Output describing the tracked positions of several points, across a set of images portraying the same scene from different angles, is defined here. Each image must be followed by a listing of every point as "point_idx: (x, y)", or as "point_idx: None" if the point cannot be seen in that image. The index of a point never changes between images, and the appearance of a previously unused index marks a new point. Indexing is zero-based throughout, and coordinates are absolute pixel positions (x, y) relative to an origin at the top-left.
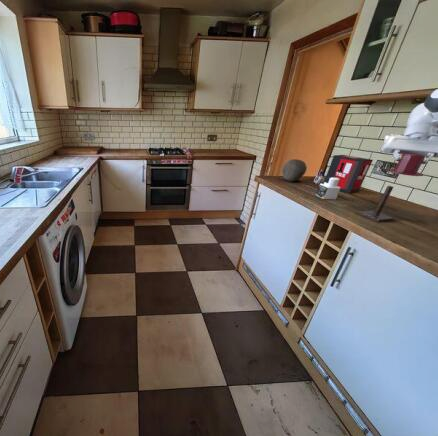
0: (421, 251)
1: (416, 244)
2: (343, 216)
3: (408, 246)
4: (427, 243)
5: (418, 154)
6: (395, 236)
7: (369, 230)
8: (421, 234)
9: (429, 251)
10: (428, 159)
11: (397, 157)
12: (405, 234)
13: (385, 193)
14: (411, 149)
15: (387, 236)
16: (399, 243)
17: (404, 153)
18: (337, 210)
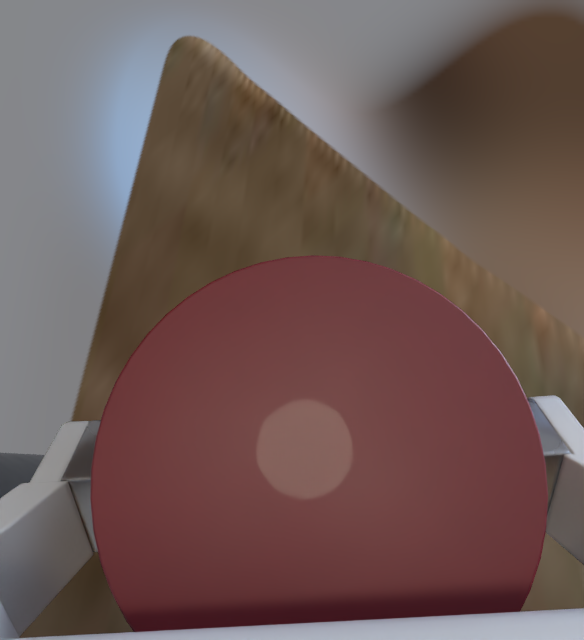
0: (191, 89)
1: (194, 149)
2: (487, 297)
3: (227, 104)
4: (148, 195)
5: (228, 481)
6: (260, 182)
7: (359, 175)
8: (145, 305)
9: (163, 110)
10: (42, 460)
11: (561, 410)
12: (216, 244)
13: None
14: (446, 626)
15: (291, 156)
16: (254, 111)
17: (523, 391)
18: (536, 395)
